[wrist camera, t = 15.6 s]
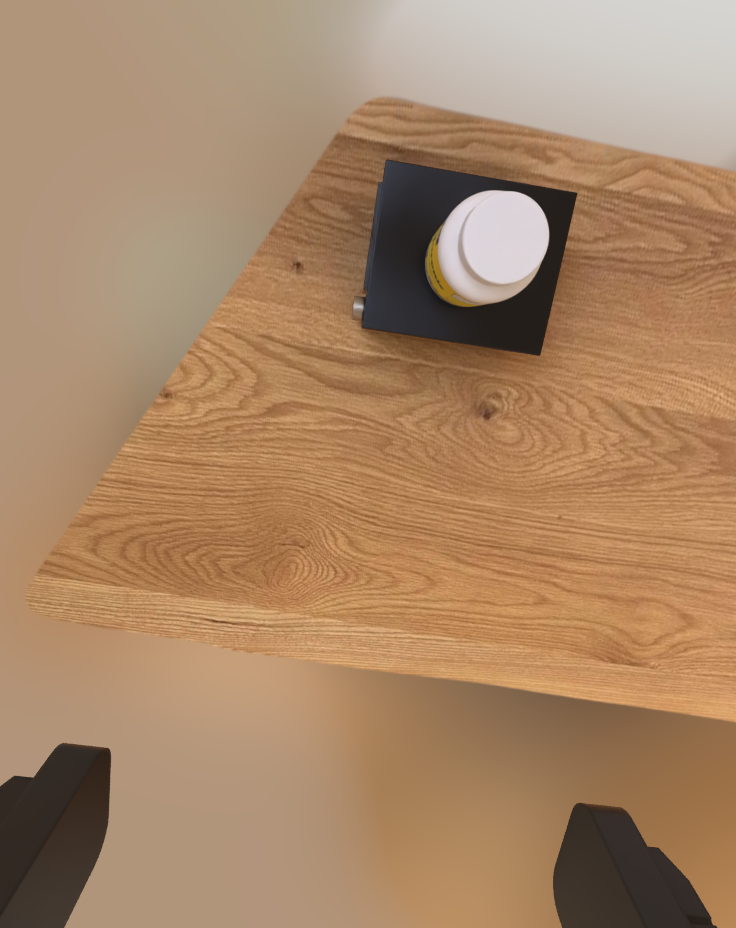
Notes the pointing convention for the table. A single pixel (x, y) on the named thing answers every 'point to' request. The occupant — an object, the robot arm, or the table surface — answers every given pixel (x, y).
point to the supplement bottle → (487, 248)
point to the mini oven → (404, 251)
